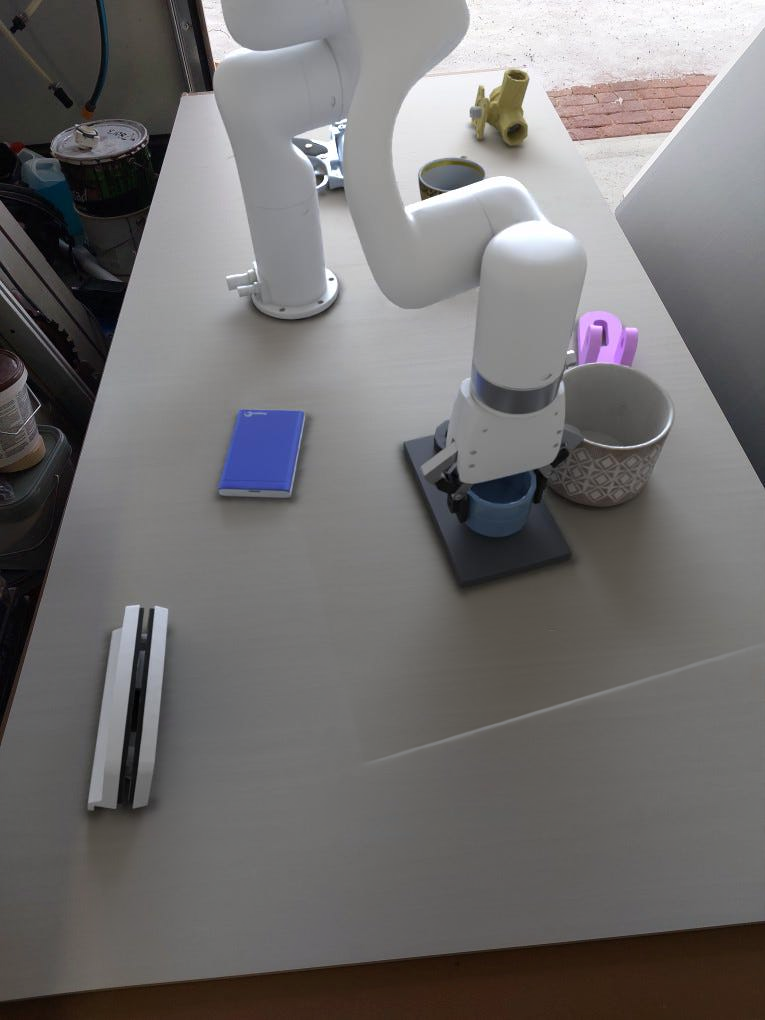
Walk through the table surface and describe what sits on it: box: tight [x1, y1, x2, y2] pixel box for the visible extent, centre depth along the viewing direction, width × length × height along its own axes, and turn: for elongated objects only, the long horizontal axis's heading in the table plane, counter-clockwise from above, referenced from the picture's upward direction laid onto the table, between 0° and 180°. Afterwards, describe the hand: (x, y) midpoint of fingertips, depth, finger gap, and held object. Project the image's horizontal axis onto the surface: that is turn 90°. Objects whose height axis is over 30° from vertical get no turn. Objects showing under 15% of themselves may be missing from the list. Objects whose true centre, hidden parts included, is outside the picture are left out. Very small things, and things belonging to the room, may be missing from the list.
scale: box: [403, 418, 573, 589], centre depth 76 cm, size 12×20×3 cm, turn 16°
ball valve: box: [469, 68, 530, 147], centre depth 125 cm, size 13×10×10 cm
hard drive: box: [217, 408, 306, 499], centre depth 81 cm, size 2×8×12 cm
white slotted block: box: [87, 604, 169, 811], centre depth 60 cm, size 17×5×10 cm, turn 6°
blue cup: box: [465, 470, 536, 537], centre depth 71 cm, size 7×7×5 cm
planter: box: [546, 363, 676, 507], centre depth 75 cm, size 13×13×10 cm
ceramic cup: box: [417, 155, 488, 201], centre depth 105 cm, size 13×10×10 cm
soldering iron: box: [292, 119, 347, 193], centre depth 118 cm, size 6×28×16 cm
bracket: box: [576, 310, 639, 368], centre depth 89 cm, size 13×6×7 cm, turn 172°
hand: (494, 502), depth 72 cm, fingers closed on blue cup, 7 cm apart
